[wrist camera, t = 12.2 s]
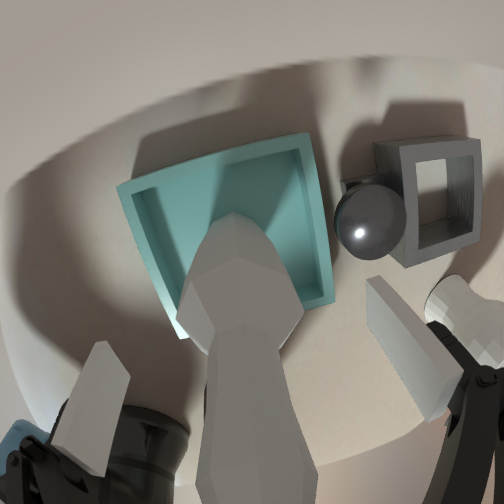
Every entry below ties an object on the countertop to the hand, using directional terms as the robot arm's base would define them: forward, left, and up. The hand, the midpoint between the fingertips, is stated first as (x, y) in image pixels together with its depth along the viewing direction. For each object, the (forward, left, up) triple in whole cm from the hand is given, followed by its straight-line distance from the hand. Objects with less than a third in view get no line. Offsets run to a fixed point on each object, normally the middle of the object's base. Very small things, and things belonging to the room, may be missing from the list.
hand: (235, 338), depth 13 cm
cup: (+25, -16, -14) cm, 33 cm away
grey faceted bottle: (0, 0, -13) cm, 13 cm away
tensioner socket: (+17, 0, -14) cm, 22 cm away
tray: (0, 0, -14) cm, 14 cm away
